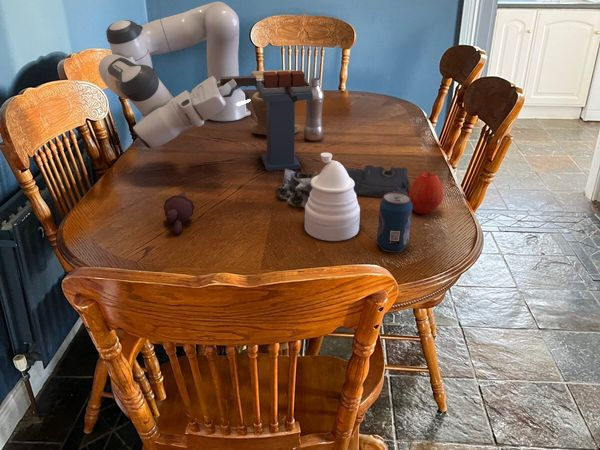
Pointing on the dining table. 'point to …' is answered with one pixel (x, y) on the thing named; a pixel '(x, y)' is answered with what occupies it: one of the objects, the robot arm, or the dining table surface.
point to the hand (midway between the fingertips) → (234, 79)
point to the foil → (296, 188)
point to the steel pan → (286, 90)
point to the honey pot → (332, 204)
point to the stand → (281, 130)
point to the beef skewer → (270, 79)
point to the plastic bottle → (314, 112)
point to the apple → (426, 193)
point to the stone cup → (262, 115)
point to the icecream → (178, 210)
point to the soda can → (394, 221)
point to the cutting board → (260, 73)
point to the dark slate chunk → (378, 181)
